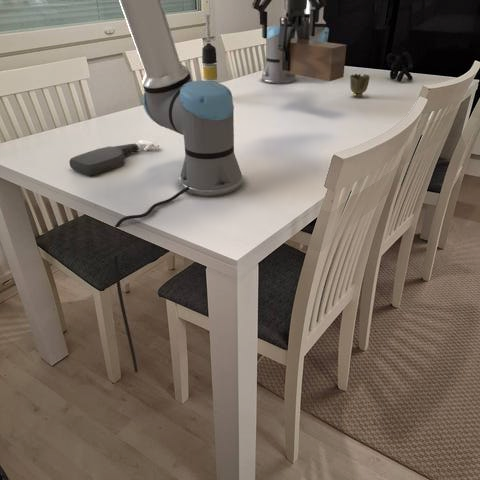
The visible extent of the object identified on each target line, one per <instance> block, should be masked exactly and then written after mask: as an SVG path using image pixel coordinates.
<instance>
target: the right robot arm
mask: <svg viewBox="0 0 480 480" xmlns="http://www.w3.org/2000/svg"><path fill="white" fill-rule="evenodd" d="M316 1H317V2H318V3H319V1H318V0H316ZM283 3H284V7H283V9H284V10H286V12H285V16H283V17H282V16H281V17H279V23H278V24H274V25H271V26H269V27H267V38H265V64H264V67H263V71H262V74H261V81H262V82H263V83H266V84H272V85H273V84H274V85H275V84H276V85H278V84H279V85H283V84H290V83H293V82H295V81H296V75H295V74H290V73H284V72H279V68H280V50H281V51H282V70H285V71H289V64H290V51H288V50H289V46H290V42H291V39H292V38H297V39H305V40H313V41H321V42H328V39H329V32H330V29H329V27H327V22H326V21H325V19H324V8H325V7H322V8H321V9H320V10H319V21H318V23H315V36H310V35H309V25H310V9H314V8H313V7H312V5H311V4H310V2H309V1H308V0H284V2H283ZM285 46H286V47H285Z"/></svg>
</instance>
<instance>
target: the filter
mask: <svg viewBox="0 0 480 480" xmlns="http://www.w3.org/2000/svg"><path fill="white" fill-rule="evenodd" d="M210 17H211V14H204V18H205V27H206V29H205V30H206V31H205V33H206V39H207V40H206V42H207V43H206V45H204V46H202V49H201V50H202V51H201V52H202V54H201V55H202V57H201V58H202V61H201V63H202V71H203V72H202V73H203V74H202V75H203V81H208V82H217V83H219V82H218V81H216V80H218V64H216V63H218V61H217V48H216V47H215V46H214V45H212V43H210V42H211V40H210V39H211V31H210V29H211V28H210Z"/></svg>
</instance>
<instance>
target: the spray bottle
mask: <svg viewBox="0 0 480 480" xmlns="http://www.w3.org/2000/svg"><path fill="white" fill-rule="evenodd" d="M159 148H160V145H159V144H158V143H155V142H151V141H148V140H144V139H139V140H138V141H137V142H135V143H129V144H128V143H126V144H122V145H113V146H105V147H100V148H97V149H94V150H90V151H87V152H83V153H81V154H78V155H74V156H73V157H70V159H69V161H68V162H69V167H70V168H71V169H72V170H74V171H75V172H78V173H81V174H83V175H85V176H89V177H90V176H91V177H92V176H95V175H99V174H102V173H105V172H107V171H110V170H113V169H116V168H118V167H120V166H122V165H123V164H124V163H125V158H126V156H127V155H131V154H133V153H138V151H140V150H143V151H144V152H146V151H147V150H149V149H159Z"/></svg>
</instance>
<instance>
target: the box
mask: <svg viewBox="0 0 480 480" xmlns="http://www.w3.org/2000/svg"><path fill="white" fill-rule="evenodd" d="M285 47H286V46H285ZM288 51H290V64H289V71H285V70H282V51H281V50H280V68H279V72H284V73H290V74H295V76H300V77H305V78H311V79H316V80H319V81H326V82H333V81H337V80H339V79H343V78H344V75H345V66H346V65H345V64H346V56H347V55H346V54H347V44H343V43H335V42H329V41H327V42H321V41H313V40H305V39H297V38H292V39H291V42H290V46H289V50H288Z"/></svg>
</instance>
